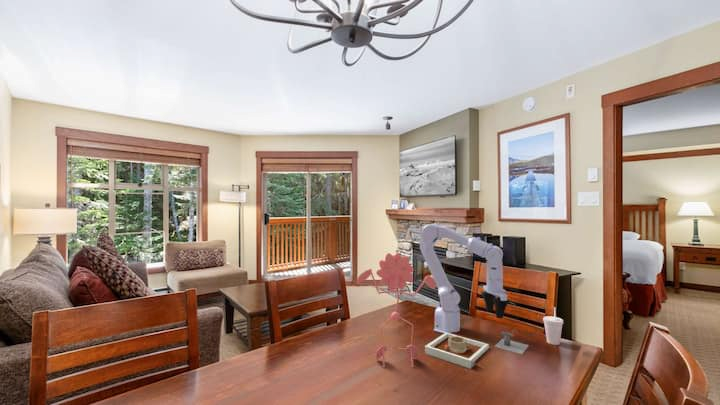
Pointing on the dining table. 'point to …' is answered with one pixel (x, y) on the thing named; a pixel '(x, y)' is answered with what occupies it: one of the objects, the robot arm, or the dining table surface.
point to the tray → (453, 357)
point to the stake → (511, 344)
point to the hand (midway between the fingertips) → (494, 314)
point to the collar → (457, 344)
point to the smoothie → (553, 328)
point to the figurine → (395, 276)
